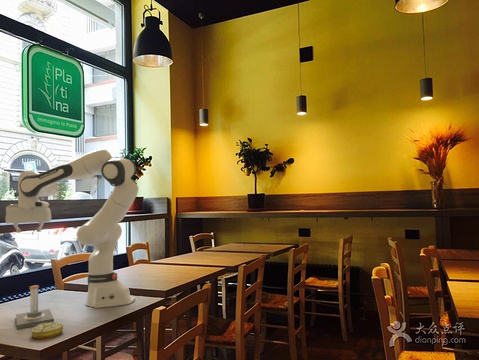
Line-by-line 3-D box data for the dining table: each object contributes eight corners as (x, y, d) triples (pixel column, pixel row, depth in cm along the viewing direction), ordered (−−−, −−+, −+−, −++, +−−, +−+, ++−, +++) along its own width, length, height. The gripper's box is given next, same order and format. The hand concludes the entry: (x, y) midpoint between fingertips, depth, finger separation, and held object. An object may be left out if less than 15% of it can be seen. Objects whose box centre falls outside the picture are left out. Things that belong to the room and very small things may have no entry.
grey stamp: (27, 317, 160) (26, 286, 161) (34, 314, 163) (34, 284, 164) (34, 317, 159) (34, 287, 159) (41, 315, 162) (41, 285, 163)
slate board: (15, 317, 165) (15, 314, 165) (49, 312, 172) (49, 308, 172) (17, 329, 150) (17, 324, 150) (54, 322, 157) (54, 318, 157)
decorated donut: (55, 328, 150) (55, 318, 150) (68, 333, 143) (68, 323, 143) (26, 336, 142) (26, 325, 142) (39, 342, 135) (39, 331, 135)
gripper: (2, 204, 184) (2, 233, 184) (47, 203, 187) (47, 231, 186) (9, 204, 191) (9, 232, 190) (52, 203, 193) (52, 230, 192)
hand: (28, 232), depth 188 cm, fingers open, 8 cm apart
